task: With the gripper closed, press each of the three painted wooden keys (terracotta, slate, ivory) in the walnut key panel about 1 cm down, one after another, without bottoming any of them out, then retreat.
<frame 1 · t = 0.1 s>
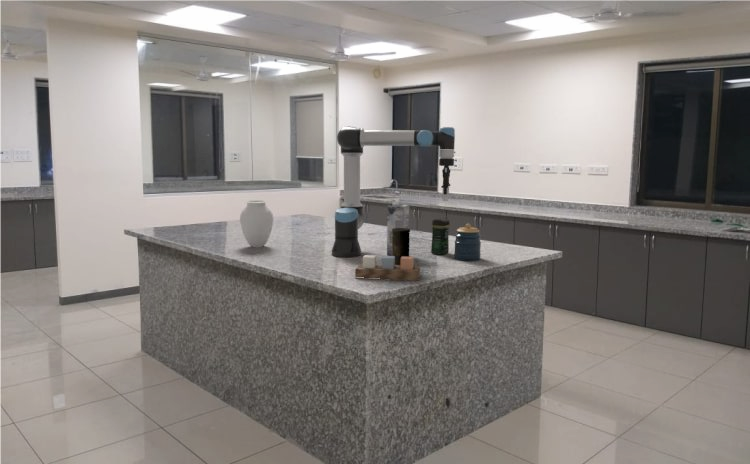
hand: (445, 199, 295), 28 cm above the countertop, fingers open, 13 cm apart
ivory key: (369, 263, 244), point 5 cm above the countertop, slide at 0.0 cm
container: (400, 268, 261), on the countertop
coffee jar: (440, 253, 299), on the countertop
juice carton: (397, 255, 292), on the countertop
canister: (467, 259, 285), on the countertop
slate key: (388, 264, 242), point 5 cm above the countertop, slide at 0.0 cm
terracotta key: (407, 264, 241), point 5 cm above the countertop, slide at 0.0 cm
vase: (257, 247, 316), on the countertop
key panel: (388, 276, 243), on the countertop
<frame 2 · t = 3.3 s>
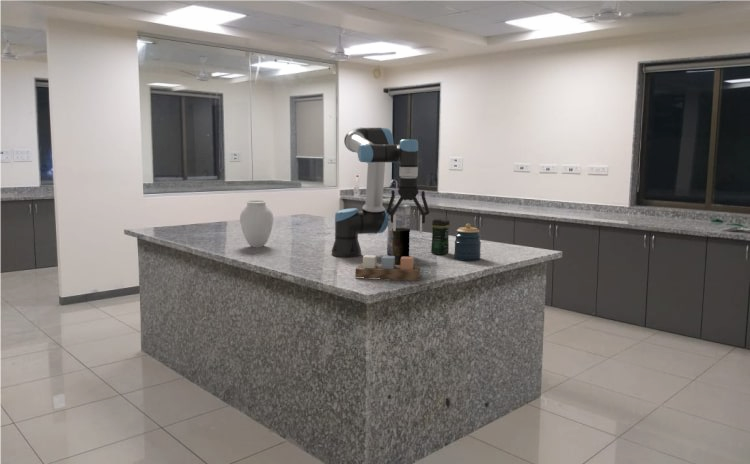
hand: (407, 230, 239), 20 cm above the countertop, fingers open, 10 cm apart
juice carton: (397, 255, 292), on the countertop, touching arm
everything else where it was.
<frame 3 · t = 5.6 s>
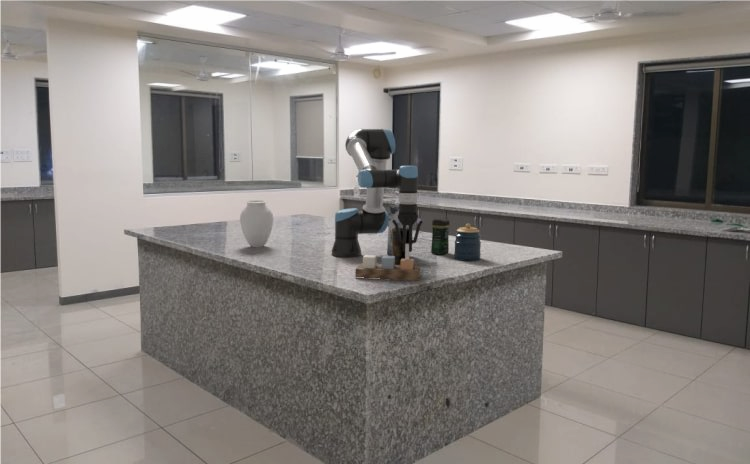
hand: (407, 259, 241), 8 cm above the countertop, fingers closed
terracotta key: (407, 266, 241), point 5 cm above the countertop, slide at 0.9 cm, touching gripper
everything else where it was.
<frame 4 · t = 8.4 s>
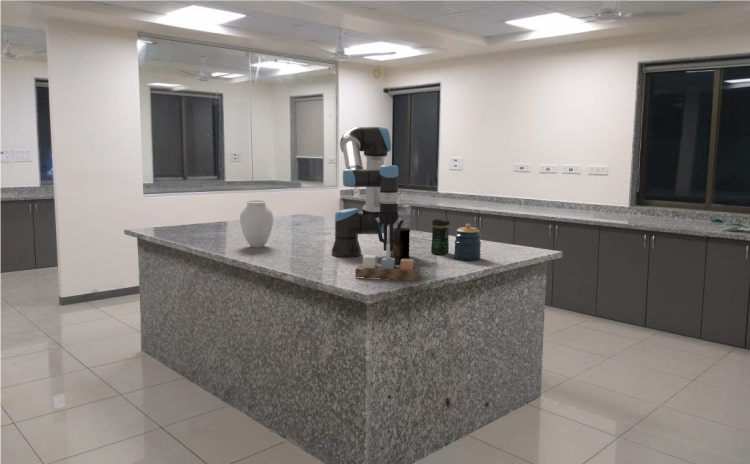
hand: (388, 258, 242), 8 cm above the countertop, fingers closed
slate key: (388, 266, 243), point 5 cm above the countertop, slide at 0.9 cm, touching gripper
terracotta key: (407, 267, 241), point 4 cm above the countertop, slide at 1.0 cm
everything else where it was.
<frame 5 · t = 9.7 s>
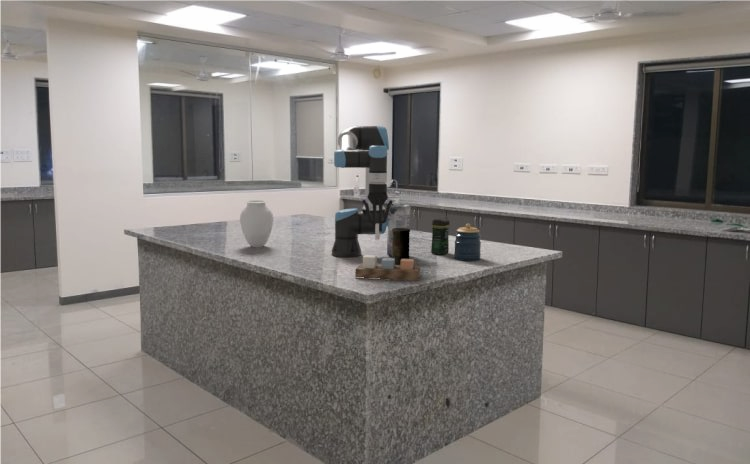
hand: (377, 239, 242), 16 cm above the countertop, fingers closed
juice carton: (397, 255, 292), on the countertop
slate key: (388, 266, 243), point 4 cm above the countertop, slide at 1.0 cm
everything else where it was.
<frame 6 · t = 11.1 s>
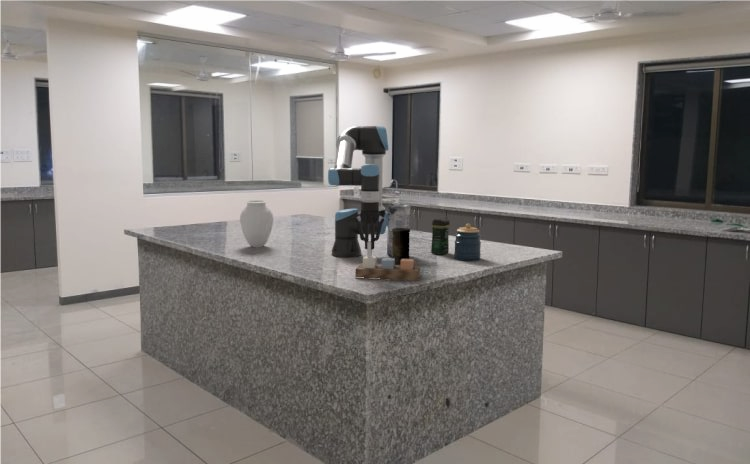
hand: (369, 256, 243), 8 cm above the countertop, fingers closed
ivory key: (369, 264, 244), point 5 cm above the countertop, slide at 0.5 cm, touching gripper
juice carton: (397, 255, 292), on the countertop, touching arm
everything else where it was.
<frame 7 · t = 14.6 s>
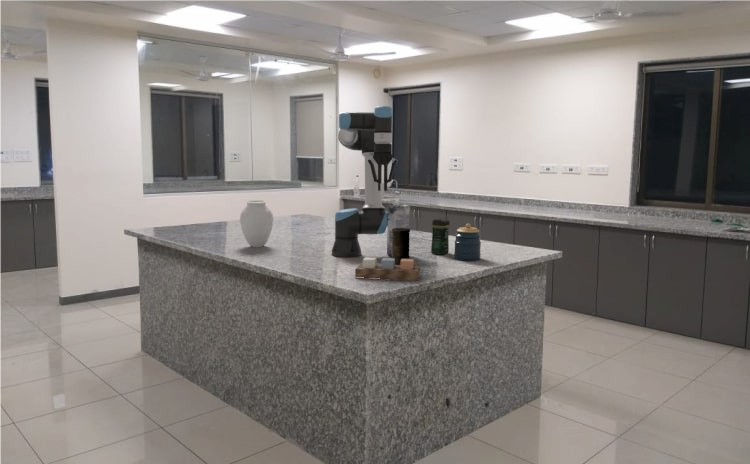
hand: (382, 198, 248), 32 cm above the countertop, fingers closed
ivory key: (369, 265, 244), point 4 cm above the countertop, slide at 1.0 cm
everything else where it was.
at the end: terracotta key slide at 1.0 cm; slate key slide at 1.0 cm; ivory key slide at 1.0 cm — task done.
